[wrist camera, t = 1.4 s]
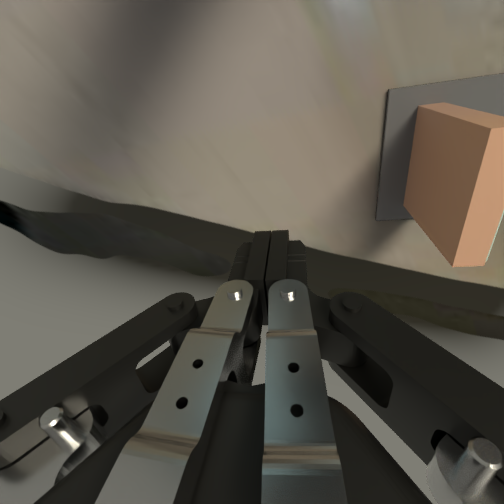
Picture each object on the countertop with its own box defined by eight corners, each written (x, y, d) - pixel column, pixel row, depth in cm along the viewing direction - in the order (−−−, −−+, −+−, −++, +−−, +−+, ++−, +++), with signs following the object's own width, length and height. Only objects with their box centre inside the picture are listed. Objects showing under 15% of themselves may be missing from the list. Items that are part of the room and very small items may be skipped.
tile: (403, 205, 38) (452, 267, 27) (418, 105, 32) (491, 128, 20) (426, 203, 38) (487, 265, 26) (447, 101, 31) (538, 123, 20)
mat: (375, 219, 40) (376, 220, 40) (388, 89, 32) (389, 89, 31) (567, 205, 36) (571, 207, 36) (640, 53, 28) (645, 53, 27)
